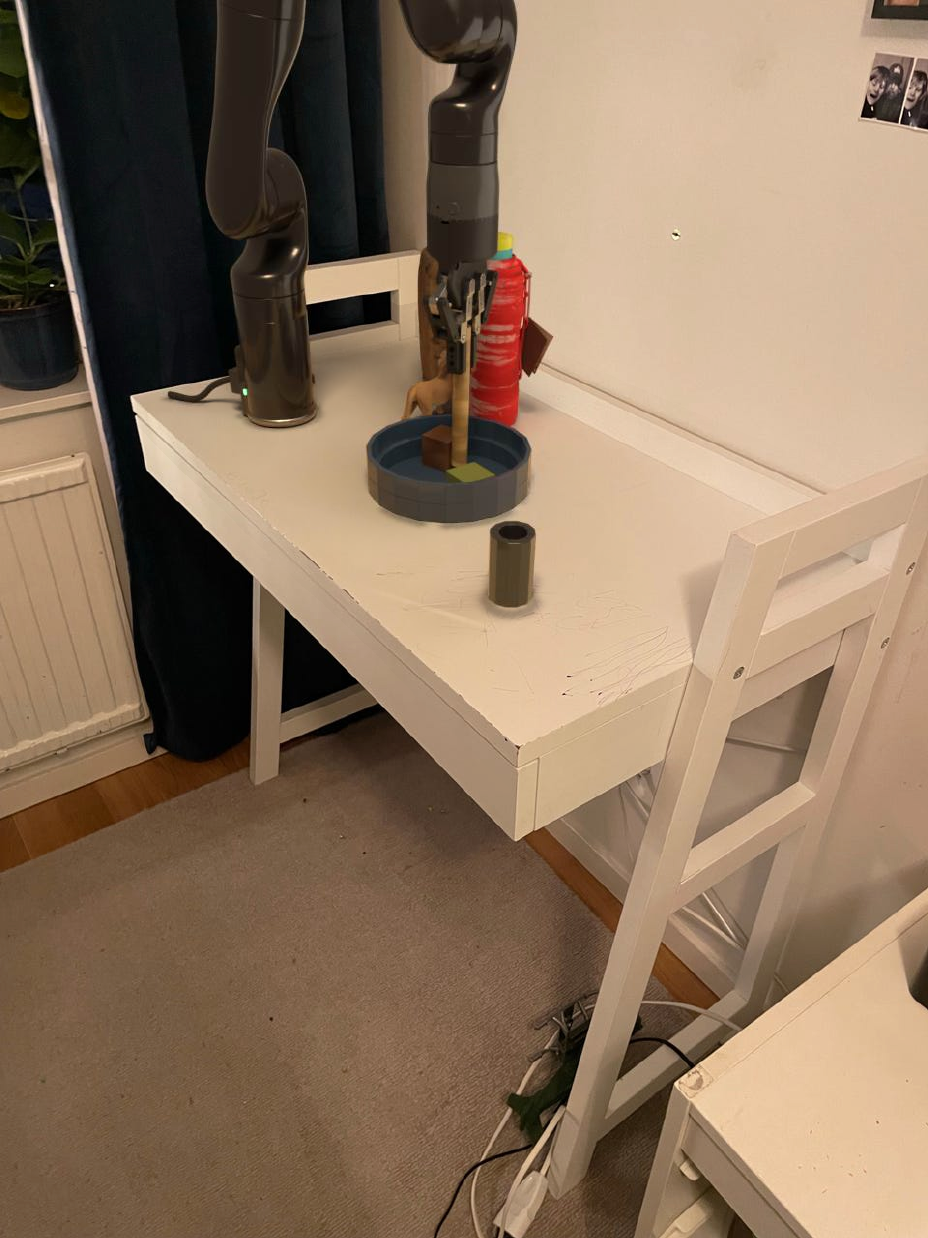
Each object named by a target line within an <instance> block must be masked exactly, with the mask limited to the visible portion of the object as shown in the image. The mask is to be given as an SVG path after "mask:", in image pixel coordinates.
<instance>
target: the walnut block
mask: <svg viewBox="0 0 928 1238" xmlns="http://www.w3.org/2000/svg"><path fill="white" fill-rule="evenodd" d="M451 452H452V427H448V426H445V425H442V424H441V425H439V426H437V427H435V428H434V429H432V430H430V431H428V432H426V433H425V434H423V435H422V464H423V465H425V466H428V467H431V468H434V469H437V470H440V471H443V472H446V471H447V470H450V469H453V468H456V467H454V466H452V464H451Z"/></svg>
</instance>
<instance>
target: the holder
mask: <svg viewBox="0 0 928 1238" xmlns="http://www.w3.org/2000/svg"><path fill="white" fill-rule="evenodd" d="M536 539H537V534H536V529H535V528H534V527H533V526H532V525H530V524H529V523H527V522H523V521H519V520H505V521H500V522H497V523H495V524H494V525H493V526H491V528H490V529H489V547H488V548H489V550H488V551H489V553H488V581H487V585H488V586H487V595H488V600H490V601H491V602H492V603H493V604H494V605H495V606H499V607H502V608H511V609H512V608H520V607H523V606H526V605H528V604H529V603H530V602H531V600H532V599H533V589H534V573H535V558H536V557H535V555H536V554H535V553H536V542H537V540H536Z"/></svg>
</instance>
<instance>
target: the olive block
mask: <svg viewBox="0 0 928 1238" xmlns="http://www.w3.org/2000/svg"><path fill="white" fill-rule="evenodd" d="M491 477H495V474H493V473H491V472H490V471H488V470H487V469H485V468H483V467H482V466H480V465H478V464H477V463H475V462H472V463H469V464H466V465H463V466H460V467H456V468H453V469H450V470H447V471H446V483H459V482H473V481H477V480H482V479H487V478H491Z"/></svg>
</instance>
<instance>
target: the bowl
mask: <svg viewBox="0 0 928 1238" xmlns="http://www.w3.org/2000/svg"><path fill="white" fill-rule="evenodd" d="M441 424H442V425H445V426H448V427H452V413H442V414H432V415H425V416H423V415H420V416H415V417H410V418H409V419H404V420H401V419H400V420H399V421H396V422H393V423H391V424H387V425H386V426H384V427H383V428H381V429H380V430H378V431H377V432H375V433H374V434H372V436H371V437H370V439H369V441H368V442H367V444H366V446H365V449H366V451H365V452H366V453H365V454H366V469H367V483H368V492H369V493H368V494H369V495H370V496H371V497H372V499H374V501H376V503H377V504H378V505H379V506H381V507H382V508H384V509H386V510H388V511H390V512H392V513H394V514H396V515H399V516H401V517H405V518H409V519H412V520H416V521H420V522H421V521H422V522H432V523H442V524H449V523H451V524H452V523H453V524H454V523H468V522H476V521H480V520H485V519H489V518H493V517H498V516H500V515H502V514H504V513H506V512H508V511H510V510H512V509H514V508H516V507H517V506H518V505H519V504H520V503H521V502H522V501H523V500H524V499H525V498H526V497H527V495H528V492H529V488H530V485H531V470H532V469H531V467H532V450H533V449H532V447H531V444H530V442H529V440H528V438H527V436H525V435H524V434H522V433H521V432H520V431H519V430H517V429H516V428H515V427H513V426H508V425H506V424H503V423H501V422H498V421H495V420H491V419H486V418H482V417H478V416H469V415H468V443H467V464H469V463H472V462H475V463H477V464H478V465H480V466H482V467H483V468H485V469H487V470H488V471H490V472H491V473H493V474H495V477H491V478H487V479H482V480H477V481H473V482H459V483H446V472H443V471H440V470H437V469H434V468H431V467H428V466H425V465H423V464H422V435H423V434H425V433H426V432H428V431H430V430H432V429H434V428H435V427H437V426H439V425H441Z"/></svg>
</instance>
